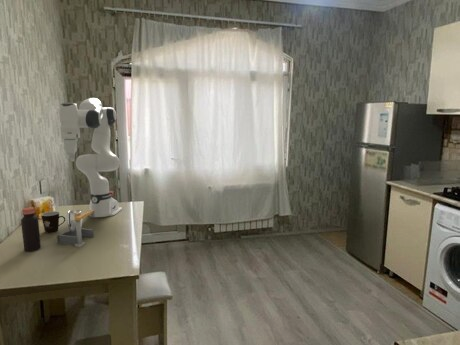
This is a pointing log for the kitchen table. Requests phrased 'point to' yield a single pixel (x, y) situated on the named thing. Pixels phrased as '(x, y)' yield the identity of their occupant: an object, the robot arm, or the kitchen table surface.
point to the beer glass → (73, 221)
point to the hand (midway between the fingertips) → (72, 161)
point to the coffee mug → (51, 221)
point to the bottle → (30, 230)
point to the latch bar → (91, 213)
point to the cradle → (75, 240)
